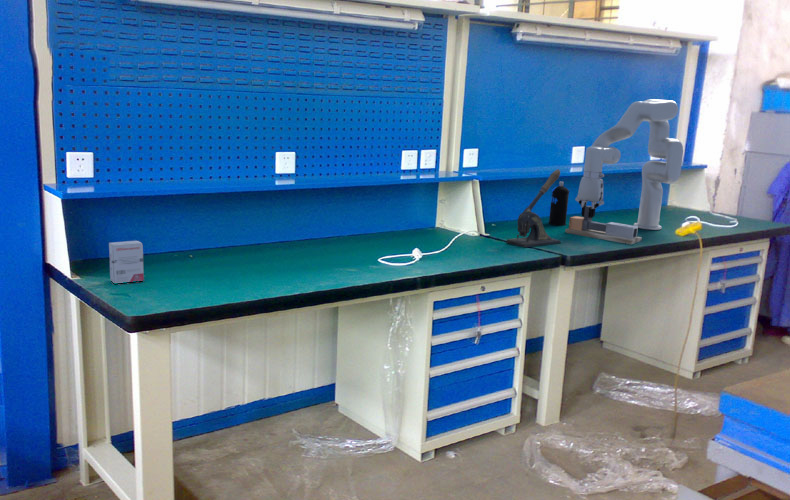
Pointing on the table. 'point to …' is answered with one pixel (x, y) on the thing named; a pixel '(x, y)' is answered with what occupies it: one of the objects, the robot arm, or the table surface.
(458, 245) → the table surface
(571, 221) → the socket
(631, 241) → the base board
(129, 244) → the ink box
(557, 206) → the aerosol can
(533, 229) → the embossing press
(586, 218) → the grey bar
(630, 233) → the pale blue rectangular box
